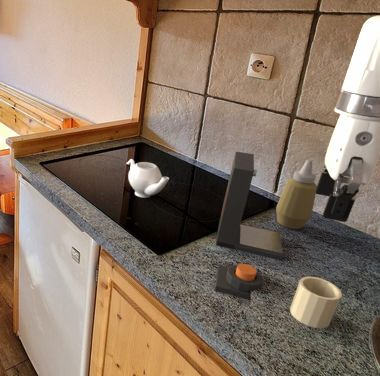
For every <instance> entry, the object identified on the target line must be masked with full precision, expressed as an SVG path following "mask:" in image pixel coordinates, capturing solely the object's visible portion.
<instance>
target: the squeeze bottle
mask: <svg viewBox="0 0 380 376" xmlns="http://www.w3.org/2000/svg"><path fill="white" fill-rule="evenodd" d="M316 178H317V175H316V174H315V173H313V160H312V159H306V161H305V162H304V164H303V165H302V167H301V168H300V170H295V171H294V173H293V176H292V178H288V180H287V182H286V184H285V186H284V188H283V190H282V192H281V195H280V197H279V200H278V202H277V204H276V206H275V207H276V208H275V210H276V219H277V220H276V221H277V223H278V224H279V225H281V226H282V227H285V228H287V229H292V230H299V229H302V228H303V227H304V226H305V225H306V223H307V222H308V221H309V220H310V219H311V218H312V215H313V210H314V205H315V201H316V195H317V194H316V192H315V191H316V188H317V185H318V184H316V183H315V181H316Z"/></svg>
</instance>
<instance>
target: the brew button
mask: <svg viewBox="0 0 380 376" xmlns="http://www.w3.org/2000/svg"><path fill="white" fill-rule="evenodd" d="M237 265H238V266H237V269H236V273H235V274H236V276H237V277H238V278H240V279H242V280H245V281H254V279H255V276H256V273H257V271H258V270H257V269H256V268H255V267H254V266H252V265H250V264H248V263H239V264H237Z"/></svg>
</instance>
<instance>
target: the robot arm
mask: <svg viewBox="0 0 380 376" xmlns="http://www.w3.org/2000/svg"><path fill="white" fill-rule="evenodd" d="M360 30H361V31H360V32H359V35H358V39H357V40H356V45H355V48H354V51H353V54H352V56H351V60H350V63H349V65H348V68H347V70H346V71H347V72H346V74H345V78H344V80H343V83H342V86H341V89H340V92H339V95H338V98H337V101H336V104H335V107H334V112H335V113H336V114H339V118H337V121H336V125H335V127H334V129H333V131H332V134H331V137H330V140H329V143H328V145H327V146H328V147H327V149H326V152H325V157H324V166H323V169H322V172H321V174H320V177H319V179H318V181H317V182H318V183H317V184H316V185H317V188H316V191H315V192H316V195H319V196H324V197H328V199H327V201H326V205H325V207H324V210H323V211H322V212H323V213H322V216H323V218H324V219H327V220H332V221H337V222H342V223H345V222H347V221H348V220H349V217H350V214H351V213H352V209H353V207H354V204H355V201H356V200H357V197H358V193H359V192H360V186H361V185H362V186H368V185H369V184H370V183H371V181H372V179H373V176H374V173H375V169H376V168H377V163H378V162H379V158H380V15H374V16H372V17H370V18H368V19H367V20H365V22H364V23H363V24H362V27H361V29H360ZM342 184H343V185H342Z"/></svg>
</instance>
